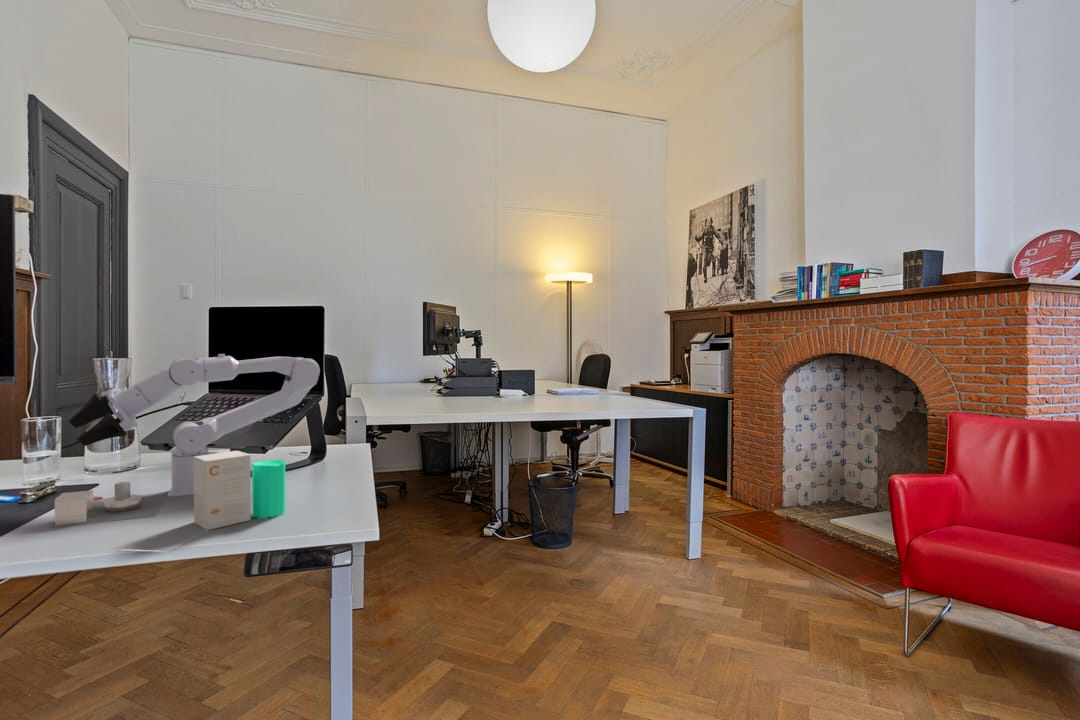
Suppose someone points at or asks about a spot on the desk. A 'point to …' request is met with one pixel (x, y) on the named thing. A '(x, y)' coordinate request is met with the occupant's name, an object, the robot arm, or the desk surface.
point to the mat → (146, 510)
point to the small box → (222, 489)
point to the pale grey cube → (73, 508)
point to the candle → (268, 488)
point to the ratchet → (118, 500)
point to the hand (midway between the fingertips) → (76, 433)
